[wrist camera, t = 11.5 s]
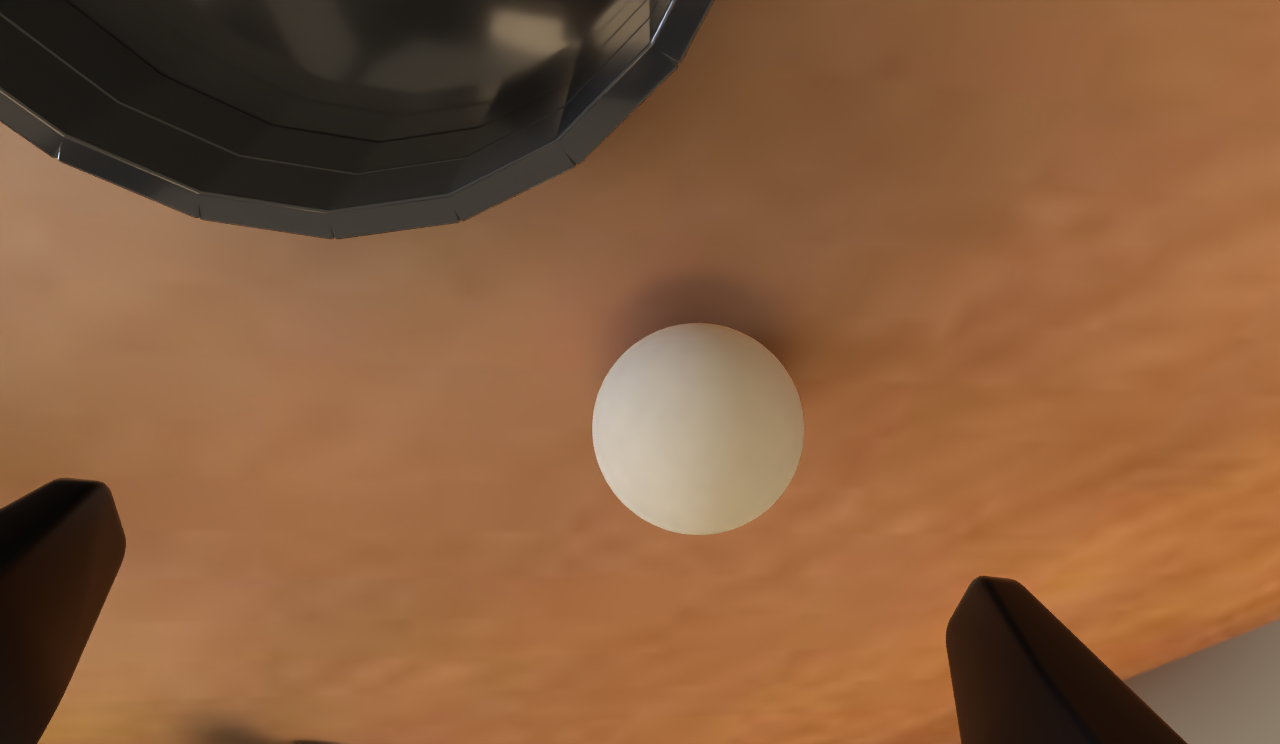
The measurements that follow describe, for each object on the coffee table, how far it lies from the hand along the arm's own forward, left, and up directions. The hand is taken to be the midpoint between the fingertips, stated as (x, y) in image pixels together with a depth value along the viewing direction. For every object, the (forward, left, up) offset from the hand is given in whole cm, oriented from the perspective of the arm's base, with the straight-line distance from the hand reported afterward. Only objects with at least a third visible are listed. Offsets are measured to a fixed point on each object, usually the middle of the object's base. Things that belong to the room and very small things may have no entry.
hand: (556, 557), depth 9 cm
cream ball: (-5, -3, -9) cm, 11 cm away
